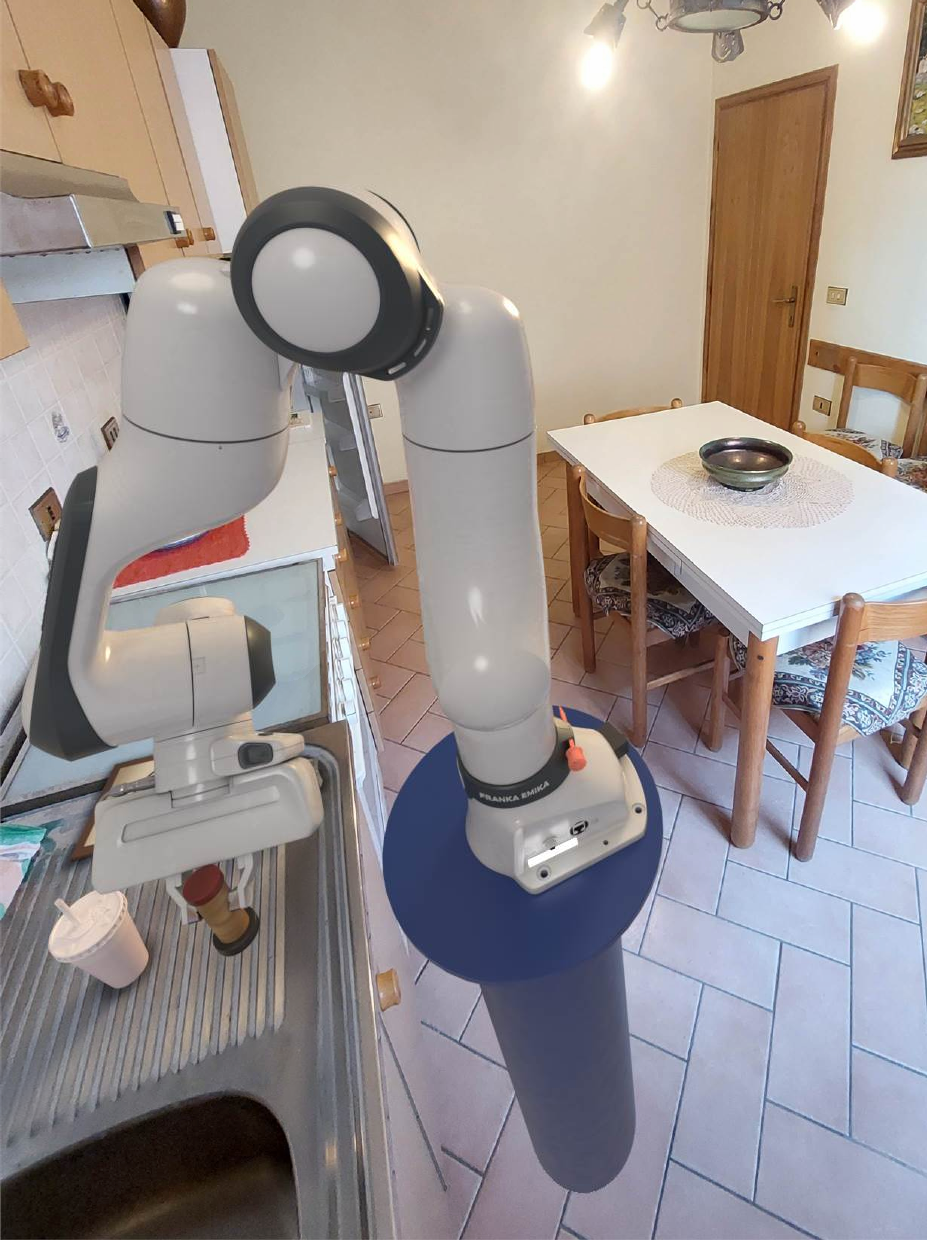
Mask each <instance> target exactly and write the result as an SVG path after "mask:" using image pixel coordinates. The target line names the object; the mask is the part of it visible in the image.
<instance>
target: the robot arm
mask: <svg viewBox="0 0 927 1240" xmlns="http://www.w3.org/2000/svg"><path fill="white" fill-rule="evenodd" d="M120 362H121V363H120V384H119V385H120V387H119V388H120V427H119V432H118V435H117V437H116V439H115V442H114V443H113V445H112V447H111V448H110V450H109V452H108V454H106V456H105V457H104V458H103V459H102V461H101V462H100V463H98V464H97V465H93V466H91V467H89V468H87V469H85V470H83V471H80V472H78V473H77V474H76V475H75V477H74V478H73V479H72V482H71V484H70V485H69V488H68V489H67V492H66V495H65V498H64V500H63V504H62V508H61V509H62V510H61V514H60V520H59V525H58V529H57V530H58V531H57V535H56V538H55V541H54V543H53V544H54V546H53V549H52V556H51V560H50V561H51V563H50V569H49V575H48V582H47V588H46V595H45V599H44V600H45V601H44V602H45V603H44V607H43V614H42V619H41V621H42V623H41V626H40V627H41V629H40V631H41V634H40V641H39V644H38V645H39V646H38V651H37V653H36V656H35V658H34V661H33V662H32V665H31V667H30V669H29V672H28V675H27V677H26V679H25V680H26V681H25V683H24V687H23V692H22V696H21V707H20V708H21V711H20V712H21V721H22V726H23V729H24V730H23V731H24V732H25V735H26V736H27V738H28V739H29V740H28V743H29V744H30V745H31V746H33V747H35V748H36V749H38V750H39V751H41V752H43V753H46V754H47V755H50V756H53V757H56V758H57V759H61V760H63V761H66V762H67V761H68V762H70V763H71V762H75V761H79V760H81V759H84V758H88V757H91V756H94V755H97V754H100V753H101V754H102V753H104V752H108V751H110V750H114V749H117V748H118V747H120V746H124V745H128V744H131V743H136V742H140V741H145V740H149V739H152V755H153V756H154V775H152V776H148V777H145V778H141V779H139V780H136V781H133V782H129V783H121V784H118V785H115V786H113V787H112V788H111V789H110V791H109V792H107V793H106V794H104V795H103V796H102V797H101V799H100V800H99V801H98V800H97V801H98V803H97V802H96V803H97V804H96V803H95V805H96V807H95V806H94V807H95V828H96V837H95V844H94V851H93V856H92V863H91V887H92V888H93V889H94V891H95V890H96V891H97V892H98V893H99V894H101V895H105V894H109V893H112V892H116V891H123V890H126V889H130V888H134V887H136V886H141V885H144V884H148V883H151V882H154V881H158V880H161V879H165V890H166V892H167V894H169V896H170V897H171V898H172V900H173V901H174V902H175V903H176V905H177V906H178V907H179V908H180V915H181V916H180V917H181V925H182V926H183V927H187V926H190V925H194V924H196V923H200V922H201V921H203V920H204V919H203V917H202V916H201V915H200V913H199V912H198V911H197V910H196V908H195V907H193V906H190V905H189V904H188V903H187V901H186V900H185V899H184V897H183V893H182V892H183V887H184V884H185V882H186V881H187V879H188V878H189V877H190V876H191V875H192V874H193V871H194V870H198V869H199V868H201V867H203V866H206V865H215V864H218V863H222V862H225V861H228V860H229V861H230V860H232V859H236V862H237V869H238V870H242V869H244V870H243V872H242V874H241V877H240V880H239V883H238V884H237V886H234V888H232V889H231V891H230V892H229V893H228V901H229V902H230V905H229V911H230V912H234V911H237V910H241V909H244V908H247V907H248V906H251V905H252V903H253V888H252V883H253V882H254V879H255V877H256V874H257V871H258V869H259V867H260V864H261V861H262V851H264V850H267V849H272V848H275V847H278V846H282V845H286V844H289V843H292V842H295V841H300V840H303V839H306V838H309V837H310V836H312V835H313V834H314V833H316V831H317V830H319V828H320V826H321V825H322V822H323V821H324V814H325V813H324V804H323V799H322V794H321V789H320V788H319V784H318V781H317V777H316V774H315V771H314V768H313V766H312V765H311V763H310V762H309V761H308V759H307V758H305V757H302V756H300V755H301V754H303V753H304V751H305V748H306V747H305V746H306V745H305V744H306V743H305V737H304V736H303V735H302V734H300V733H290V732H289V733H288V732H272V731H256V730H255V726H254V720H253V719H254V717H253V713H252V712H251V711H252V710H255V709H256V708H257V707H259V705H260V704H261V703H262V702H263V701H264V700H265V699H266V697H267V696H268V695H269V693H270V692H271V691H272V690H273V688H274V687H275V686H276V684H277V680H276V673H275V667H274V660H273V652H272V635H271V634H272V633H271V631H270V630H268V628H266V626H264V625H262V624H261V623H260V622H259V621H258V620H255V619H254V618H252V617H250V616H248V615H245V614H244V615H239V614H238V610H237V607H236V605H235V603H234V602H233V601H231V600H230V599H228V598H224V597H221V596H198V597H197V596H196V597H190V598H186V599H182V600H178V601H176V602H173V603H171V604H168V605H166V606H165V607H163V608H162V609H160V610H159V611H158V612H157V613H156V614H155V616H154V620H153V625H152V626H147V627H139V628H132V629H126V630H125V629H124V630H109V629H105V628H106V623H107V619H108V613H109V608H110V603H111V599H112V594H113V588H114V585H115V582H116V580H117V577H118V576H119V575H120V573H122V571H123V570H124V569H125V568H127V566H129V565H130V564H132V563H133V562H135V561H136V560H138V559H140V558H142V557H144V556H145V555H148V554H149V553H151V552H154V551H156V550H158V549H161V548H163V547H165V546H167V545H170V544H172V543H175V542H178V541H180V540H183V539H186V538H189V537H193V536H195V535H197V534H202V533H204V532H208V531H211V530H214V529H218V528H220V527H222V526H225V525H227V524H230V523H232V522H234V521H236V520H238V519H239V518H241V517H244V515H246V514H248V513H249V512H251V511H252V510H254V509H255V508H256V507H258V506H259V505H260V504H261V503H263V502H264V501H265V500H266V499H267V498H268V497H269V496H270V495H271V494H272V493H273V491H274V490H275V489H276V487H277V486H278V484H279V483H280V481H281V479H282V476H283V473H284V469H285V466H286V462H287V458H288V457H287V456H288V451H289V444H290V435H291V424H292V423H291V422H292V405H293V390H294V384H295V377H296V372H297V369H298V367H299V365H302V366H305V367H309V368H313V369H318V370H321V371H329V372H336V373H337V372H338V373H349V374H352V375H357V376H361V377H365V378H368V379H374V380H377V381H381V382H392V381H393V383H394V386H395V390H396V395H397V400H398V410H399V418H400V419H399V420H400V428H401V436H402V442H403V451H404V452H403V453H404V460H405V469H406V477H407V485H408V493H409V502H410V510H411V518H412V530H413V531H412V532H413V540H414V550H415V551H414V552H415V562H416V571H417V572H416V573H417V581H418V591H419V602H420V612H421V622H422V632H423V633H422V634H423V641H424V650H425V651H424V652H425V659H426V665H427V670H428V673H429V676H430V680H431V683H432V686H433V689H434V692H435V695H436V698H437V701H438V703H439V706H440V708H441V711H442V712H443V713H444V715H445V716H446V718H447V719H448V720H450V723H451V726H452V732H453V731H454V735H455V738H456V742H457V766H458V770H459V774H460V778H461V781H462V785H463V788H464V789H465V791H466V794H467V796H468V811H467V816H466V836H467V840H468V843H469V846H470V848H471V850H472V851H473V853H474V855H475V856H476V857H477V858H478V860H479V861H480V862H481V863H483V864H484V865H485V866H487V867H488V868H490V869H491V870H493V871H496V872H498V873H501V874H504V875H507V876H509V877H511V878H513V879H514V880H515V881H516V882H517V883H518V884H519V885H520V886H521V887H522V888H523V889H524V890H526V891H527V892H529V893H531V894H539V893H541V892H543V891H545V890H547V889H549V888H550V887H552V886H554V885H556V884H558V883H560V882H561V881H563V880H565V879H567V878H569V877H571V876H573V875H574V874H576V873H578V872H580V871H582V870H584V869H586V868H587V867H589V866H591V865H593V864H595V863H597V862H599V861H600V860H602V859H604V858H606V857H608V856H610V855H612V854H613V853H615V852H617V851H619V850H621V849H623V848H625V847H626V846H628V845H630V844H632V843H634V842H636V841H637V840H639V839H641V838H642V837H643V836H644V834H645V831H646V827H647V806H646V800H645V796H644V792H643V788H642V785H641V782H640V780H639V777H638V775H637V772H636V770H635V768H634V766H633V764H632V762H631V761H630V759H629V758H628V756H627V755H626V754H627V753H628V752H629V743H628V741H629V739H628V738H627V736H626V735H625V734H624V733H622V732H620V731H619V730H618V728H616V726H614V725H613V724H612V723H611V722H610V721H609V720H608V721H605V724H603V725H602V726H601V727H599V728H598V729H596V730H593V729H586V728H579V727H573V726H571V725H570V724H569V723H568V722H567V719H566V716H565V713H564V711H563V710H562V708H561V707H560V706H561V705H558V706H559V710H560V716H561V719H562V720H561V719H559V718H557V717H555V716H554V715H553V708H552V705H553V702H552V693H551V687H552V652H551V641H550V625H549V611H548V610H549V608H548V597H547V596H548V595H547V585H546V574H545V565H544V564H545V563H544V553H543V545H542V537H541V536H542V535H541V527H540V519H539V510H538V507H539V505H538V459H537V458H538V456H537V452H538V451H537V449H538V448H537V404H536V392H535V390H536V389H535V383H534V382H535V381H534V373H533V365H532V359H531V354H530V347H529V342H528V337H527V333H526V328H525V324H524V321H523V317H522V315H521V313H520V311H519V309H518V308H517V307H516V305H515V304H514V303H513V302H512V301H511V300H510V299H509V298H508V297H506V296H505V295H503V294H501V293H500V292H498V291H496V290H494V289H491V288H489V287H486V286H482V285H478V284H474V283H473V284H472V283H452V284H451V283H449V282H447V281H443V280H441V279H439V278H437V277H436V276H434V275H433V274H432V273H431V271H430V270H428V269H427V266H426V264H425V262H424V260H423V258H422V256H421V250H420V246H419V242H418V239H417V237H416V234H415V232H414V230H413V228H412V227H411V224H410V223H409V222H408V220H407V219H406V217H405V215H403V213H401V212H400V210H398V208H397V207H396V206H394V205H393V204H392V203H391V202H390V201H389V200H387V199H386V198H384V197H382V196H381V195H379V194H377V193H376V192H374V191H371V190H368V189H366V188H363V187H360V186H358V185H355V184H352V183H347V182H342V181H335V180H321V181H314V182H309V183H305V184H301V185H298V186H295V187H292V188H288V189H285V190H281V191H279V192H276V193H275V194H273V195H271V196H269V197H267V198H266V199H264V200H263V201H261V202H260V203H259V204H257V205H256V207H255V208H254V209H253V210H252V211H251V212H249V214H248V216H247V217H246V218H245V220H244V221H243V223H242V224H241V226H240V228H239V229H238V232H237V234H236V236H235V239H234V242H233V246H232V248H231V254H230V261H228V260H222V259H217V258H212V257H204V256H203V257H202V256H185V257H184V256H183V257H178V258H171V259H168V260H164V261H161V262H158V263H155V264H153V265H151V266H149V267H148V268H147V269H146V270H144V271H143V272H142V273H141V274H140V275H139V277H137V280H136V281H135V283H134V285H133V288H132V291H131V294H130V300H129V304H128V310H127V314H126V322H125V327H124V333H123V341H122V351H121V359H120ZM135 791H138V792H135ZM131 792H134V793H131ZM128 793H130V794H128ZM108 796H111V797H115V798H111V799H107V800H105V799H106V798H107V797H108ZM638 810H639V811H641V813H640V814H637V813H636V811H638ZM606 844H607V845H606ZM543 874H548V876H547V877H546V878H542V877H541V876H542V875H543Z"/></svg>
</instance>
